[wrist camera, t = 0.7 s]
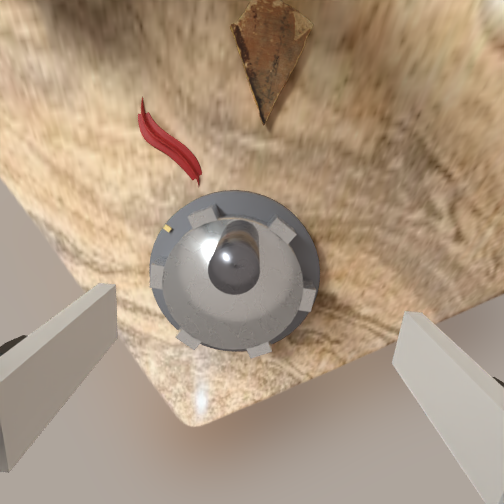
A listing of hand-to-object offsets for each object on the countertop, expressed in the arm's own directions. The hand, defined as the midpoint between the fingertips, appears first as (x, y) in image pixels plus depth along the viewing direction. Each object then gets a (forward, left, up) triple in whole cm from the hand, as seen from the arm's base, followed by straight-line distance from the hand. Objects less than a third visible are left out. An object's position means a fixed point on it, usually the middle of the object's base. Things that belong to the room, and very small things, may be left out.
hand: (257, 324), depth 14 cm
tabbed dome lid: (+7, -2, -23) cm, 24 cm away
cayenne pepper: (-7, -11, -26) cm, 29 cm away
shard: (-18, -1, -26) cm, 31 cm away
